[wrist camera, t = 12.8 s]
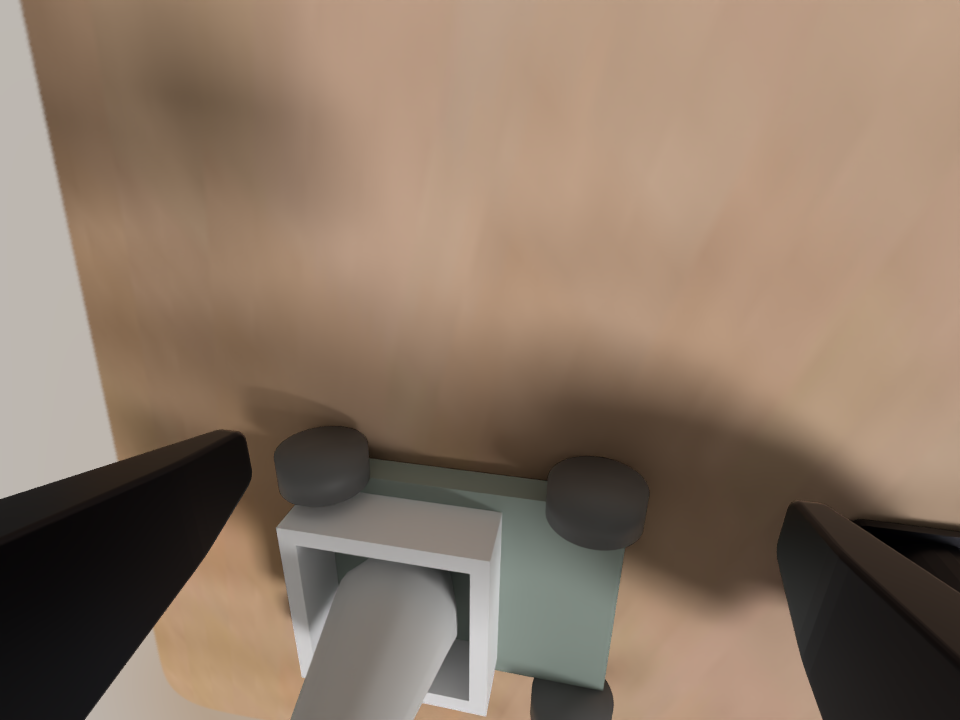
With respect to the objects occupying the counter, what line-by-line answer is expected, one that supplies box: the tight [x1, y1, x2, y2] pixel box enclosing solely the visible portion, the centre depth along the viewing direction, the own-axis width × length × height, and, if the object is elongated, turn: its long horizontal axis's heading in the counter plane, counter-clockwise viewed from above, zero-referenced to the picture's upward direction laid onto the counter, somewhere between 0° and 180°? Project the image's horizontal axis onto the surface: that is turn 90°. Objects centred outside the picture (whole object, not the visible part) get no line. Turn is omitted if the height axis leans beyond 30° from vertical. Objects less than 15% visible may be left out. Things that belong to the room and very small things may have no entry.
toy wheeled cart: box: [274, 426, 649, 720], centre depth 24 cm, size 16×14×4 cm
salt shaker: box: [290, 558, 458, 720], centre depth 20 cm, size 6×6×13 cm
